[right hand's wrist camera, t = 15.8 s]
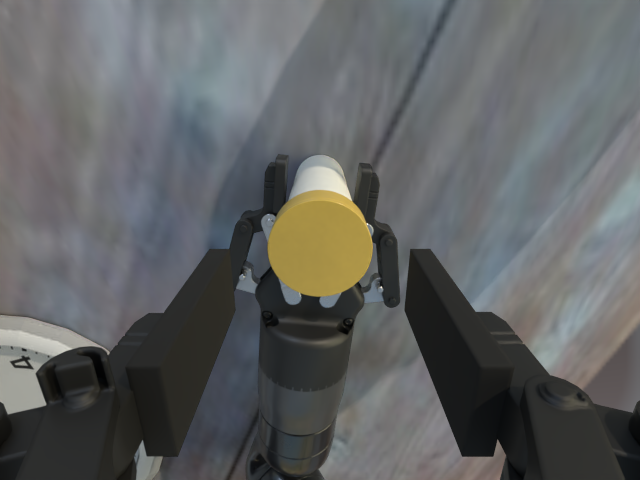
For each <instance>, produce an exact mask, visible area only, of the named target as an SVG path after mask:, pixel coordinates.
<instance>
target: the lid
mask: <svg viewBox="0 0 640 480" xmlns="http://www.w3.org/2000/svg"><path fill="white" fill-rule="evenodd" d="M372 249H373V246H372V239H371V235H370V232H369V229H368V226H367V224H366V221H365V218H364V216H363V214H362V212H361V211H360V209H359V208H358V207H357V206H356V205H355V204H354V203H353V202H352V201H351V200H350V199H348V198H347V197H345V196H343V195H341V194H339V193H336V192H333V191H328V190H312V191H307V192H304V193H301V194H299V195H297V196H295V197H293V198H292V199H290V200H289V201H288V202H287V203H286V204H285V205H284V206H283V207H282V208H281V209H280V211H279V212H278V214H277V216H276V218H275V221H274V224H273V226H272V229H271V232H270V235H269V239H268V247H267V250H268V258H269V262H270V264H271V267H272V269H273V271H274V272H275V274H276V275H277V277H278V278H279V279H280V280H281V281H282V282H283V283H284V284H285V285H287V286H288V287H289V288H291V289H292V290H294V291H297V292H299V293H302V294H304V295H309V296H316V297H324V296H331V295H335V294H338V293H341V292H344V291H345V290H347V289H349V288H351V287H352V286H354V285H355V284H356V283H357V282H358V281H359V280H360V279H361V278H362V277H363V275H364V274H365V272H366V271H367V269H368V267H369V264H370V261H371V258H372Z"/></svg>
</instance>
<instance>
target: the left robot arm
mask: <svg viewBox="0 0 640 480" xmlns="http://www.w3.org/2000/svg"><path fill="white" fill-rule="evenodd" d="M288 158H289V156H288V155H280V154H278V156H277V157H276V163H274V162H271V163H270V164H269V166H268V168H267V170H266V172H265V185H264V206H263V208H262V209H260V210H256V211H251V210H248V211H245V212H244V213H243V214H242V216H241V219H240V220H239V221H238V222H237V224H236V226H235V229H234V233H233V237H232V241H231V244H230V248H229V249H230V259H231V270H232V280H233V290H234V291H235V289H239V290H243V291H246V292H250V293H253V294H255V297H256V299H257V301H258V303H259V305H260V308H261V322H260V343H259V365H258V392H259V400H260V403H259V423H258V433H257V435H256V437H255V439H254V442H253V444H252V447H251V450H250V452H249V455H248V457H247V460H246V468H245V471H246V480H324V478H323V476H322V474H321V473H320V471H319V468H320V467H321V466H322V465H323V464H324V462H325V461H326V459H327V457H328V455H329V452H330V450H331V446H332V442H333V437H334V431H335V424H336V418H337V411H338V407H339V404H340V401H341V398H342V395H343V391H344V385H345V379H346V373H347V366H348V360H349V353H350V347H351V341H352V335H353V328H354V322H355V318H356V315H357V314H358V312H359V311H360V310H361V309H362V307H363V305H364V304H365V303H374V302H383V301H384V303H385V305H386V306H387V307H390V308H393V307H396V306H397V305H398V304H399V303H400V289H399V269H398V249H397V239H396V237H395V235H394V234H393V232H392V230H391V228H390V226H389V225H387V224H382V223H380V222H377V221H376V220H375V219H374V217H375V211H376V205H377V198H378V192H379V186H380V183H379V179H378V176H377V175H376V173H372V167H371V165H370V164H366V163H359V167H358V174H357V181H356V189H355V196H354V204H355V205H356V206H357V207H358V208H359V209H360V211H361V212H362V214H363V216H364V218H365V221H366V224H367V226H368V229H369V232H370V235H371V239H372V242H373V243H376V248H377V261H378V273H375V274H373V275H372V276H371V277H370V282H369V284H368V285H367V286H366V287H364V288H362V287H361V285H360V284H359V282H357V283H356V284H355V285H354V286H352V287H351V288H349V289H347V290H345V291H344V292H341V293H338V294H335V295H331V296H324V297H316V296H309V295H304V294H302V293H299V292H297V291H294V290H292V289H291V288H289V287H288V286H287V285H285V284H284V283H283V282H282V281H281V280H280V279H279V278H278V277H277V275H276V274H275V272H274V271H273V269H272V267H270V268H269V269H268V270H267V271H266V272H265V273H264V275H263V276H262V277H261V278H260V279H259V278H257V277H256V276H255V275H254V272H253V270H254V267H253V265H252V264H251V263H250V262H248V261H246V259H247V256H248V252H249V249H250V245H251V241H252V238H253V234H254V233H255V232H260V231H264V233H265V236H266V239H267V242H268V239H269V235H270V232H271V229H272V226H273V224H274V221H275V218H276V216H277V214H278V212H279V211H280V209H281V208H282V207H283V206H284V205H285V204H286V189H287V174H288Z"/></svg>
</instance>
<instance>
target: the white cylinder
mask: <svg viewBox="0 0 640 480" xmlns="http://www.w3.org/2000/svg"><path fill="white" fill-rule="evenodd" d="M312 190H328V191H333V192H336V193H339V194H341V195H343V196H345V197H347V198H348V199H350V200H351V196H350V193H349V190H348V186H347V183H346V180H345V177H344V173H343V170H342V168H341V166H340V165H339V163H338V162H337V161H336V160H334V159H333V158H331V157H329V156H325V155H315V156H311V157H309V158H307V159H306V160H305V161H303V162H302V163H301V165H300V166H299V168H298V170H297V173H296V177H295V180H294V183H293V186H292V190H291V193H290V196H289V200H290V199H292V198H293V197H295V196H297V195H299V194H301V193H304V192H307V191H312ZM289 200H288V201H289ZM351 201H352V200H351Z"/></svg>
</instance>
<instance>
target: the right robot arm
mask: <svg viewBox="0 0 640 480" xmlns="http://www.w3.org/2000/svg"><path fill="white" fill-rule="evenodd" d="M234 313H235V300H234V290H233V280H232V270H231V259H230V249H209V251H208V252H207V254H206V255H205V256H204V258H203V259H202V260H201V262H200V263H199V265H198V266H197V267H196V269H195V270H194V272H193V273H192V274H191V276H190V277H189V279H188V280H187V281H186V283H185V284H184V285H183V287H182V288H181V290H180V291H179V292H178V294H177V295H176V297H175V298H174V299H173V301H172V302H171V304H170V305H169V306H168V308H167V309H166V310H165V312H164V313H148V314H147V315H145V316H144V317H142V318H141V319H139V320H138V321H136V322H135V323H134V324H133V325H132V326H131V328H130V329H129V330H128V331H127V333H126V334H125V336H123V337H122V339H121V340H120V341H119V342H118V345H117V346H115V347H114V348H113V350H112V351H111V352H110V353H109V355H108V354H107V352H106V351H105V350H104V349H102V348H100V347H95V346H87V347H78V348H75V349H71V350H68V351H65V352H63V353H61V354H59V355H57V356H54V357H53V358H51V359H50V360H48V361H47V362H46V363H44V364H43V365H42V366H41V367H40V368H39V370H38V371H37V372H36V373H35V374H36V377H37V380H38V383H39V385H40V388H41V391H42V394H43V397H44V399H45V402H46V405H45V406H42V407H38V408H34V409H29V410H25V411H20V412H16V413H12V414H8V413H7V411H6V409H5V406H4V404H3V403H2V402H0V480H136V475H137V468H136V462H135V458H134V456H135V454H136V452H137V450H138V448H139V446H140V444H141V442H142V440H143V443H144V447H145V451H146V456H147V457H178V455H179V452H180V450H181V447H182V445H183V442H184V439H185V437H186V434H187V432H188V429H189V427H190V424H191V422H192V419H193V417H194V414H195V412H196V409H197V407H198V404H199V401H200V399H201V396H202V394H203V391H204V389H205V386H206V384H207V381H208V379H209V376H210V374H211V371H212V368H213V366H214V363H215V361H216V358H217V356H218V353H219V351H220V348H221V346H222V343H223V341H224V338H225V336H226V333H227V330H228V328H229V325H230V323H231V320H232V318H233V315H234ZM405 313H406V315H407V318H408V320H409V323H410V325H411V328H412V330H413V333H414V336H415V338H416V341H417V343H418V346H419V348H420V351H421V353H422V356H423V358H424V361H425V363H426V366H427V368H428V371H429V374H430V376H431V379H432V381H433V384H434V386H435V389H436V391H437V394H438V396H439V399H440V401H441V404H442V407H443V409H444V412H445V414H446V417H447V419H448V422H449V424H450V427H451V429H452V432H453V434H454V437H455V439H456V442H457V445H458V447H459V450H460V452H461V455H462V457H493V456H494V451H495V447H496V443H497V439H498V440H499V442H500V444H501V446H502V448H503V450H504V452H505V454H506V458H505V462H504V466H503V470H502V474H501V477H500V480H640V401H638V402H637V404H636V406H635V409H634V411H633V413H631V412H626V411H622V410H618V409H613V408H609V407H605V406H600V405H597V404H594V403H593V402H592V401H591V399H590V398H589V396H588V395H587V394H586V393H585V392H584V391H582V390H581V389H580V388H579V387H577V386H576V385H574V384H572V383H570V382H568V381H566V380H564V379H561V378H558V377H555V376H550V375H549V373H548V372H547V371H546V370H545V369H544V367H543V366H542V365H541V364H540V363H539V361H538V360H537V359H536V358H535V356H534V355H533V354H532V353H531V352H530V350H529V349H528V348H527V347H526V346H525V344H523V342H522V341H521V339H520V338H519V337H518V336H517V335H515V332H514V331H513V330H512V329H511V327H510V326H509V325H508V324H507V322H506V321H504V320H503V319H501V318H500V317H498V316H497V315H495V314H493V313H492V312H475V310H474V309H473V308H472V306H471V305H470V304H469V302H468V301H467V299H466V298H465V297H464V295H463V294H462V292H461V291H460V290H459V288H458V287H457V285H456V284H455V283H454V281H453V280H452V279H451V277H450V276H449V274H448V273H447V272H446V270H445V269H444V267H443V266H442V265H441V263H440V262H439V260H438V259H437V258H436V256H435V255H434V254H433V252H432V251H431V249H410V259H409V270H408V280H407V290H406V300H405Z"/></svg>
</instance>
